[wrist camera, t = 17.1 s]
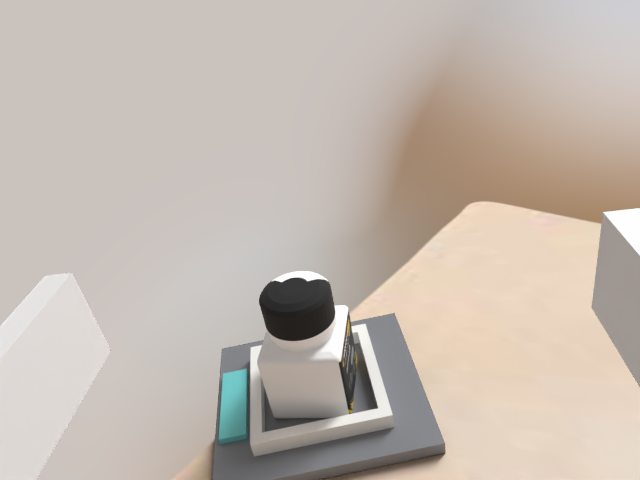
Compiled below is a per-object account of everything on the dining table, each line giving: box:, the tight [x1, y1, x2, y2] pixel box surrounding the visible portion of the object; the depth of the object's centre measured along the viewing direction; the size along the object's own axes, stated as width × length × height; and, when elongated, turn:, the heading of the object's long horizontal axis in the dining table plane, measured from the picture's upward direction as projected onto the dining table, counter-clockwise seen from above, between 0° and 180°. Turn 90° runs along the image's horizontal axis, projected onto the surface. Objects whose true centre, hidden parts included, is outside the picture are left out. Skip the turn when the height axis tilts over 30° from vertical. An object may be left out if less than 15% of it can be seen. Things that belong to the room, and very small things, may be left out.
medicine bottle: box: [257, 271, 357, 418], centre depth 46 cm, size 7×7×12 cm
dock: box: [212, 313, 445, 480], centre depth 49 cm, size 19×17×3 cm
